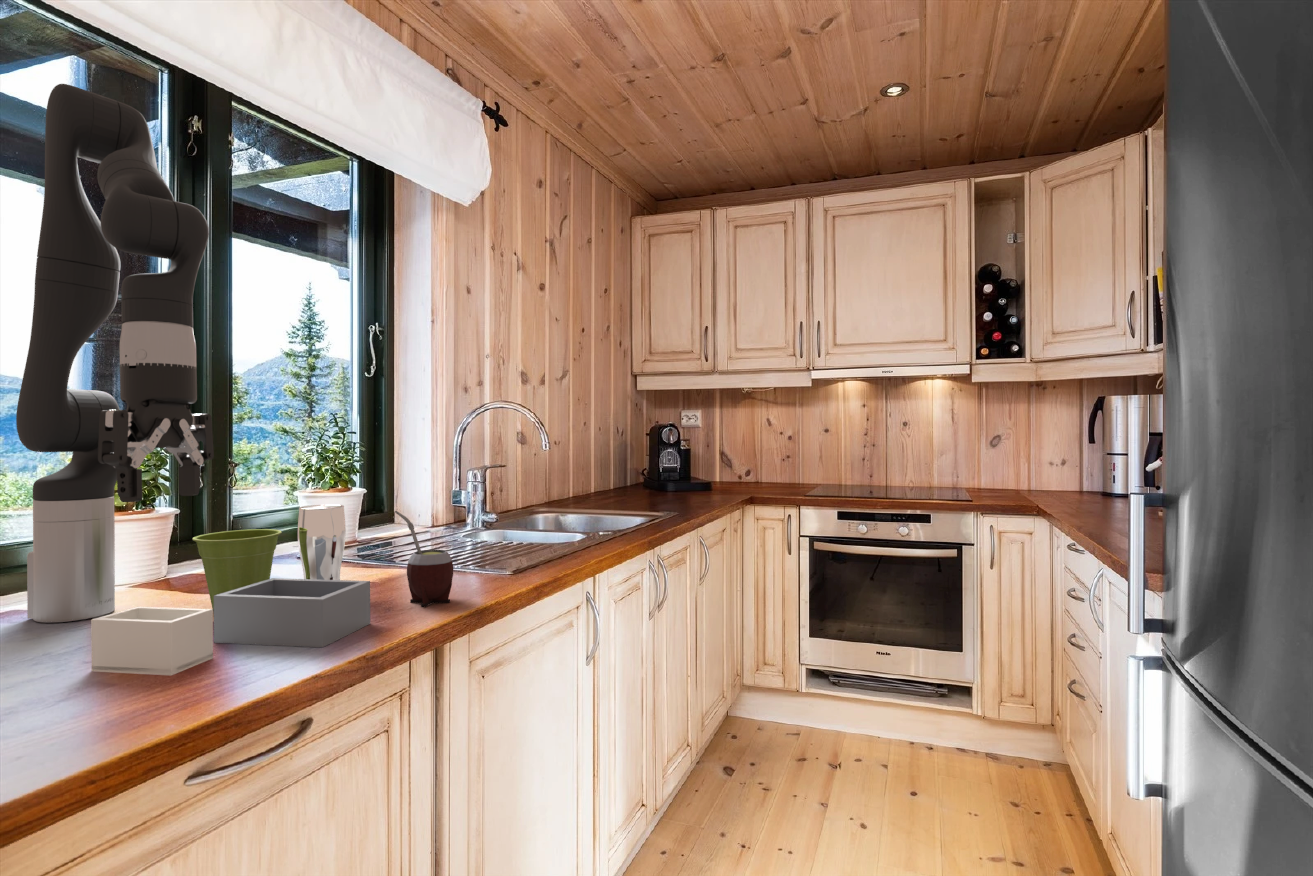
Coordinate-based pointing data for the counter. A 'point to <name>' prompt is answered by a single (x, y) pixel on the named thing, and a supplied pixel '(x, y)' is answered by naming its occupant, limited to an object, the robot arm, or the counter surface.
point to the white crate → (152, 640)
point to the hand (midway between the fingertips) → (161, 498)
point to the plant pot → (236, 558)
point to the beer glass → (321, 540)
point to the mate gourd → (428, 573)
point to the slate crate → (291, 612)
